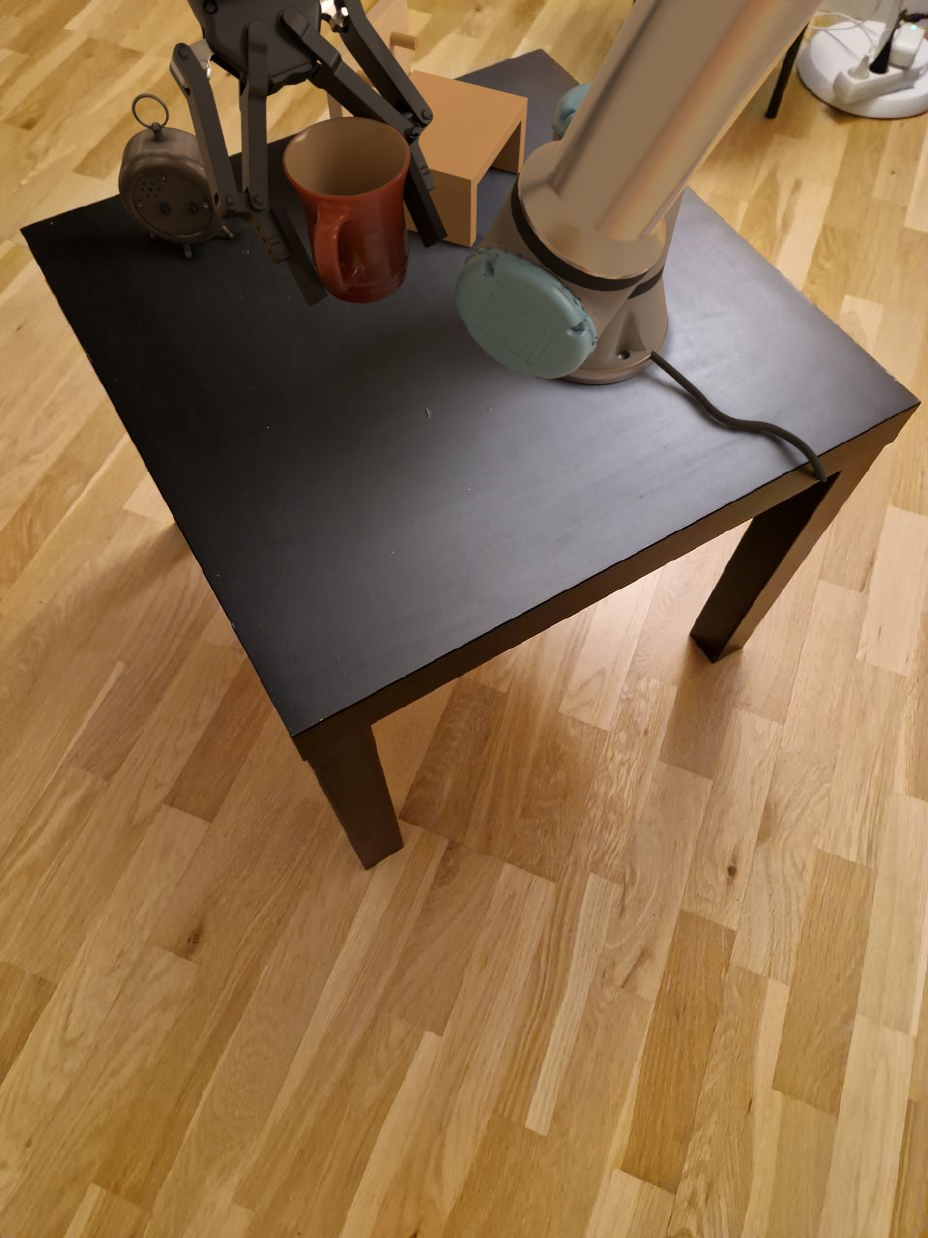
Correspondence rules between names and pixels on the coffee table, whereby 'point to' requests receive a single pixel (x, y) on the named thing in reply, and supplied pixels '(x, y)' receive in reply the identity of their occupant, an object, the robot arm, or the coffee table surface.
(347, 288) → the mug
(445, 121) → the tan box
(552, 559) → the coffee table surface
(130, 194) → the alarm clock
